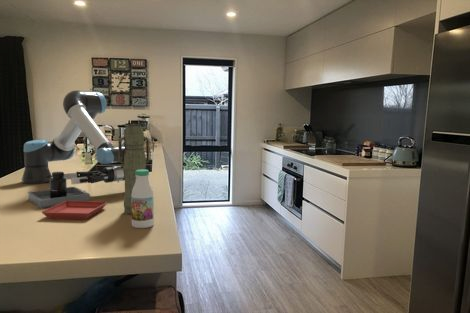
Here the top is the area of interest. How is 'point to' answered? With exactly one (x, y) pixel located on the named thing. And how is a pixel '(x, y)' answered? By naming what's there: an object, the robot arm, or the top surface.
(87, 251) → the top surface
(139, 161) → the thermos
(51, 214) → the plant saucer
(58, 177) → the supplement bottle
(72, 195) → the tray
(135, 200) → the milk bottle
